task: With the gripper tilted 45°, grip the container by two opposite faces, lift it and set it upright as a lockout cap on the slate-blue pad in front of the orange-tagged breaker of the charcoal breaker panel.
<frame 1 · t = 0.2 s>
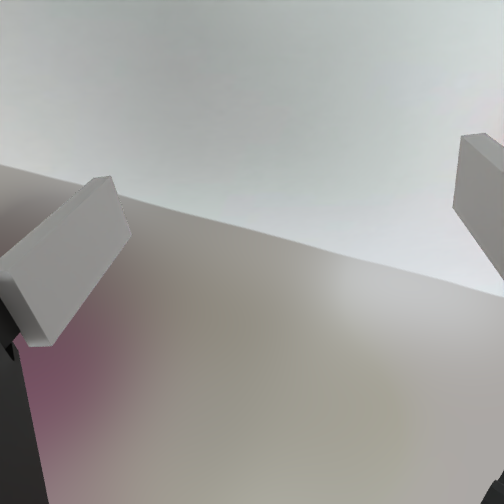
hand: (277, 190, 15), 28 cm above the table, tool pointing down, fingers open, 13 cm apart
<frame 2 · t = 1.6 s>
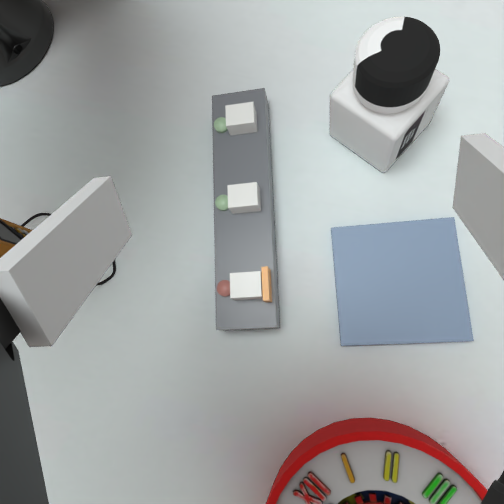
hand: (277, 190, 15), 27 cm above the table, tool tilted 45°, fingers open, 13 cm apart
multimeter: (77, 235, 48), on the table
breaker panel: (247, 210, 45), on the table
container: (378, 129, 44), on the table
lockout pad: (396, 282, 40), on the table
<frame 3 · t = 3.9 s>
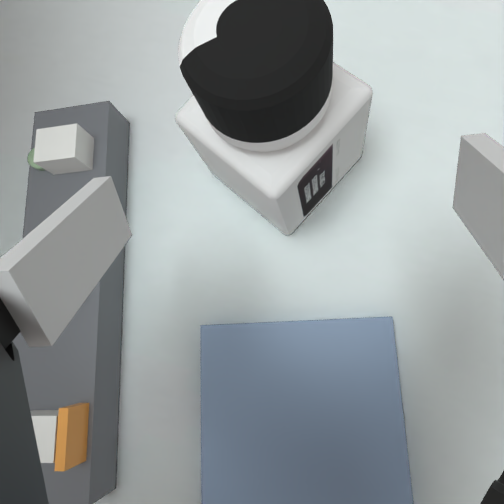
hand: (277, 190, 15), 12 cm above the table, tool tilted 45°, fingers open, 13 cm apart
breaker panel: (85, 289, 29), on the table
container: (284, 165, 28), on the table
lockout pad: (299, 421, 24), on the table
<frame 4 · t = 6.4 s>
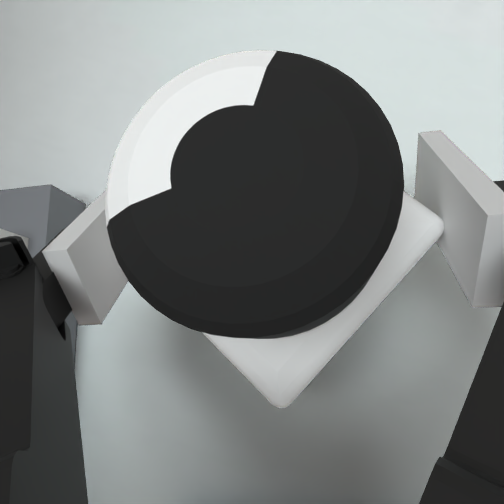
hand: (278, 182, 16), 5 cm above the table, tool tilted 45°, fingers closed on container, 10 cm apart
breaker panel: (18, 441, 21), on the table
container: (293, 275, 20), on the table, touching gripper
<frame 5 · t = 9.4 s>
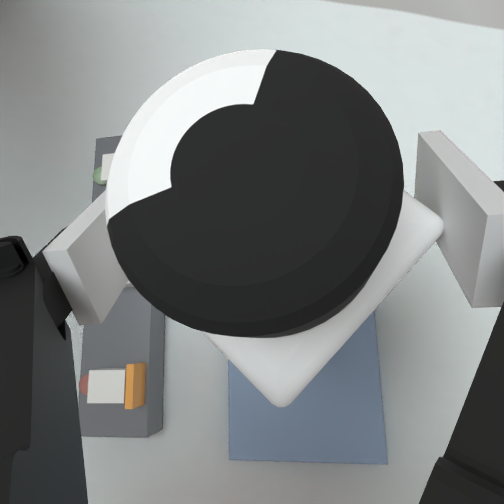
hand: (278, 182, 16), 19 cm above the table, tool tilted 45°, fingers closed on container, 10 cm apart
breaker panel: (135, 278, 37), on the table
container: (293, 274, 20), point 14 cm above the table, touching gripper
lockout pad: (302, 378, 32), on the table
when the fingers open (7 cm above the table, at t = 12.6 s): container drops 1 cm, resting on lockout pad.
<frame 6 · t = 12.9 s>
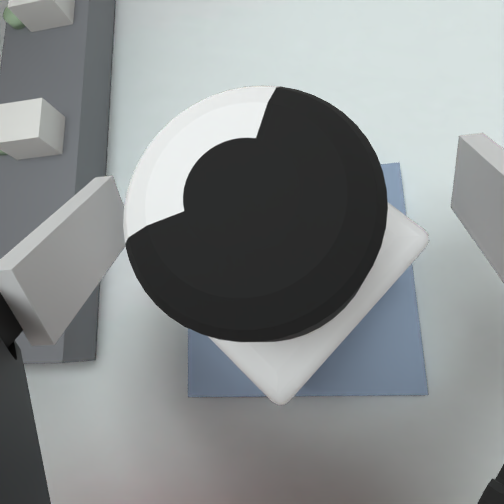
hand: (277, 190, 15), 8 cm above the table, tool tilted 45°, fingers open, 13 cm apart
breaker panel: (65, 161, 27), on the table
container: (291, 280, 22), point 1 cm above the table, touching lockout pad
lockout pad: (296, 280, 22), on the table
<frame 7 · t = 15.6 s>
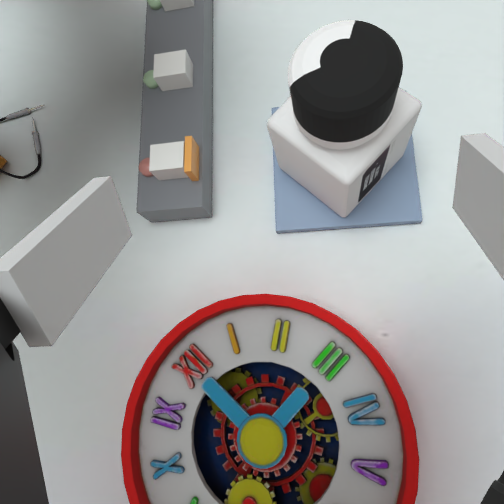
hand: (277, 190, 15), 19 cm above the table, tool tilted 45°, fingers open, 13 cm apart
multimeter: (4, 132, 44), on the table
breaker panel: (183, 97, 40), on the table
container: (339, 162, 35), point 1 cm above the table, touching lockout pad
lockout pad: (341, 164, 36), on the table
toy clock: (272, 425, 32), on the table
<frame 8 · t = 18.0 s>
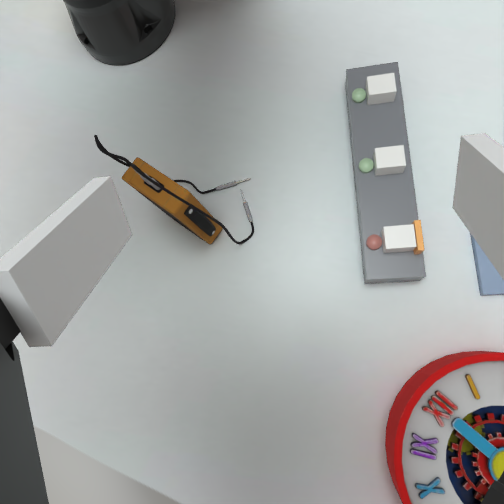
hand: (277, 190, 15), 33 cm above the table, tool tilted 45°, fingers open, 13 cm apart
multimeter: (213, 200, 52), on the table
breaker panel: (379, 175, 48), on the table
toy clock: (487, 452, 40), on the table
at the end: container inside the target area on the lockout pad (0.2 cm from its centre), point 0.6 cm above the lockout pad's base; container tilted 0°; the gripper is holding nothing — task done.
